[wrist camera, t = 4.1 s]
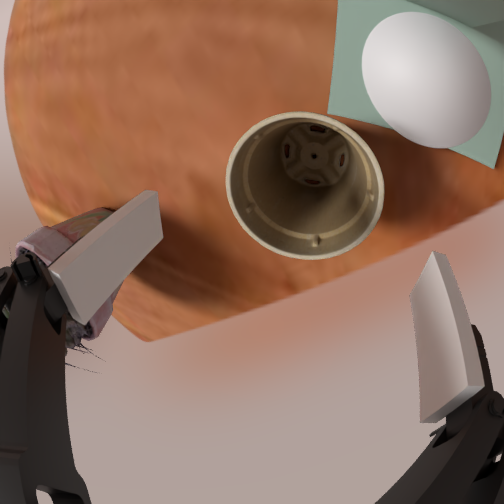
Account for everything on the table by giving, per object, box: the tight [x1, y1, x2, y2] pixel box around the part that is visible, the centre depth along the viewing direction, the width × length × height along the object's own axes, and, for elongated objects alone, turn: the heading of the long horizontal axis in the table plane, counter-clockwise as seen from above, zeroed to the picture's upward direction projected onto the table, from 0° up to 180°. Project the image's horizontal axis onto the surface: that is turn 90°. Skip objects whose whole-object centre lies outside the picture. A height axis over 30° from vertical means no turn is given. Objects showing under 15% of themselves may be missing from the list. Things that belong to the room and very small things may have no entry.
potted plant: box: [2, 208, 124, 367], centre depth 27 cm, size 18×20×25 cm
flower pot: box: [226, 112, 384, 260], centre depth 19 cm, size 9×9×9 cm
